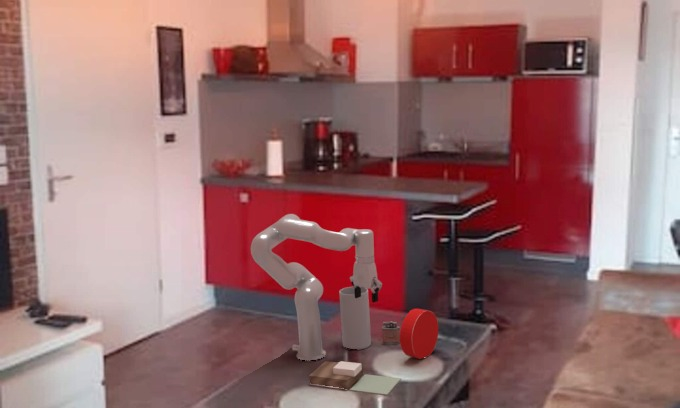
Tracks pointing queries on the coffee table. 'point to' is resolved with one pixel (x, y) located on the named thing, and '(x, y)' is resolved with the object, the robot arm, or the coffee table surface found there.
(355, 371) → the tile
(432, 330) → the toy clock
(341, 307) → the cylinder vase
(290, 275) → the robot arm
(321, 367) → the plate
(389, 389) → the mat
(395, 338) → the lighter
